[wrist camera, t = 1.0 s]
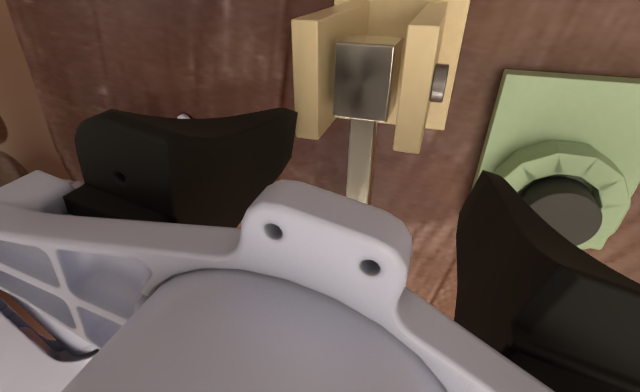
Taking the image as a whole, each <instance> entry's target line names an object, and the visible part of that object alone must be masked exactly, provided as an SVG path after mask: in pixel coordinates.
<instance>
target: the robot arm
mask: <svg viewBox="0 0 640 392" xmlns="http://www.w3.org/2000/svg"><path fill="white" fill-rule="evenodd" d="M297 116H298V112H296V111H292V110H289V109H286V108H275V109H269V110H264V111H259V112H254V113H249V114H243V115H237V116H231V117H223V118H211V119H190V118H189V117H188V116H187V115H186V114H181V115H179V116H178V117H177V119H176V118H164V117H155V116H147V115H141V114H135V113H130V112H124V111H119V110H114V109H110V110H108V111H105V112H103V113H100V114H98V115H95V116H93V117H91V118H88V119H86V120H84V121H83V122H81V123H80V124H79V126H78V128H77V129H76V135H75V145H76V151H77V155H78V159H79V163H80V166H81V170H82V174H83V178H84V182H85V184H83V183H82V182H81V181H75V182H74V181H72V180H66V179H65V180H62V179H60V178H57V177H55V176H52V175H50V174H47V173H45V172H42V171H39V170H36V171H34V172H32V173H29V174H27V175H25V176H23V177H21V178H19V179H17V180H15V181H13V182H11V183H9V184H6V185H4V186H2V187H0V289H1V290H3V291H5V292H7V293H8V294H9V295H10V296H11V297H12V298H13V299H14V300H15V301H16V302H17V303H19V305H20V306H22V307H23V308H24V309H25V310H26V311H27V312H28V313H29V314H30V315H31V316H32V317H33V318H34V319H35V320H36V321H37V322H38V323H40V325H41V326H42V327H44V328H45V329H46V330H47V331H48V332H49V333H50V334H51V335H52V336H53V337H54V338H55V339H56V341H54V340H49V339H47V338H45V337H43V336H41V335H40V334H39V333H38V332H37V331H35V330H34V329H33V328H32V327H31V326H30V325H29V324H28V323H27V322H26V321H25V320H24V319H22V317H21V316H20V315H18V314H17V313H16V312H15V311H14V310H13V309H12V308H11V307H10V306H9V305H8V304H7V303H6V302H5V301H4V300H3V299H1V298H0V392H640V284H639V283H637V282H635V281H633V280H631V279H629V278H627V277H626V276H624V275H622V274H620V273H618V272H617V271H615V270H613V269H611V268H610V267H608V266H606V265H605V264H603V263H601V262H600V261H598V260H596V259H595V258H593V257H592V256H590V255H589V254H587V253H586V252H584V251H583V250H581V249H580V248H578V247H577V246H575V245H574V244H573V243H571V242H570V241H569V240H567V239H566V238H565V237H564V236H562V235H561V234H560V233H559V232H557V231H556V230H555V229H554V228H552V227H551V226H550V225H549V224H548V223H547V222H546V221H545V220H544V219H543V218H541V217H540V216H539V215H538V214H537V213H536V212H535V211H534V210H533V209H532V208H531V207H530V206H529V205H528V204H527V203H526V201H525V200H524V199H523V198H522V197H521V196H520V195H519V194H518V193H517V192H516V191H515V189H514V188H513V187H512V186H511V185H510V184H509V183H508V182H507V181H506V180H505V179H504V178H503V177H502V176H500V175H498V174H494V173H491V172H488V171H485V170H482V172H481V174H480V176H479V178H478V179H477V181H476V183H475V185H474V187H473V189H472V191H471V193H470V194H469V196H468V198H467V200H466V202H465V204H464V206H463V208H462V209H461V211H460V213H459V219H458V225H457V233H456V248H457V281H458V282H457V299H456V308H455V317H454V320H452V319H451V318H449V317H448V316H446V315H445V314H444V313H442V312H441V311H439V310H438V309H436V308H435V307H434V306H432V305H431V304H429V303H428V302H427V301H425V300H424V299H422V298H421V297H419V296H418V295H417V294H415V293H414V292H412V291H411V290H409V289H408V288H407V287H406V281H407V275H408V269H409V263H410V257H411V249H412V236H411V234H410V233H409V231H408V229H407V228H406V226H405V224H404V223H403V221H401V220H400V219H398V218H396V217H395V216H393V215H391V214H390V213H388V212H387V211H385V210H382V209H380V208H377V207H374V206H371V205H368V204H365V203H362V202H359V201H356V200H353V199H351V198H348V197H345V196H342V195H339V194H336V193H333V192H330V191H327V190H324V189H322V188H319V187H316V186H313V185H310V184H307V183H304V182H301V181H293V180H284V179H281V180H279V181H277V182H275V183H273V182H274V181H275V180H276V179H277V178H278V177H279V175H280V174H281V173H282V171H283V170H284V168H285V167H286V165H287V163H288V162H289V160H290V158H291V155H292V149H293V142H294V136H295V129H296V122H297ZM272 183H273V184H272ZM242 219H243V220H242ZM241 220H242V222H241ZM240 222H241V228H237V226H238V225H239V223H240Z"/></svg>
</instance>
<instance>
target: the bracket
mask: <svg viewBox="0 0 640 392" xmlns="http://www.w3.org/2000/svg"><path fill="white" fill-rule="evenodd" d="M469 5H470V0H334V6H333V7H330V8H327V9H323V10H320V11H317V12H314V13H311V14H308V15H304V16H301V17H298V18H295V19H292V20H291V29H292V53H293V72H292V75H293V83H294V102H295V111H296V112H298V116H297V122H296V137H300V138H307V139H314V140H318V139H319V138H320V137H321V136H322V135H323V133H324V132H325V131H326V130H327V128H328V127H329V126H330V125H331V124H332V122H333V121H334V120H335V119H336V118H340V117H334V116H333V86H334V52H335V42H337V41H339V40H342V39H344V38H346V37H348V36H350V35H368V36H388V37H402V38H403V48H402V56H401V64H400V72H399V80H398V89H397V97H396V105H395V107H394V109H393V111H392V113H391V115H390V117H389V118H388V120H387V122H386V124H395V125H396V127H395V135H394V143H393V150H394V151H401V152H409V153H416V154H419V152H420V148H421V144H422V139H423V135H424V130H425V128H429V129H437V130H444V128H445V123H446V118H447V113H448V109H449V104H450V99H451V94H452V89H453V84H454V79H455V74H456V69H457V64H458V59H459V54H460V49H461V44H462V39H463V34H464V29H465V24H466V19H467V15H468V10H469ZM344 119H349V118H344ZM379 123H383V122H379Z"/></svg>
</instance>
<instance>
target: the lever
mask: <svg viewBox="0 0 640 392" xmlns="http://www.w3.org/2000/svg"><path fill="white" fill-rule="evenodd" d="M402 48H403V38H402V37H388V36H368V35H350V36H348V37H346V38H344V39H342V40H339V41H337V42H335V52H334V86H333V116H334V117H340V118H349V119H350V125H349V143H348V161H347V180H346V197H348V198H351V199H353V200H356V201H359V202H362V203H365V204H368V205H371V195H372V185H373V175H374V165H375V155H376V145H377V135H378V125H379V122H383V123H386V122H387V120H388V118H389V117H390V115H391V113H392V111H393V109H394V107H395V105H396V97H397V89H398V80H399V72H400V64H401V56H402Z"/></svg>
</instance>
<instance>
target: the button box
mask: <svg viewBox="0 0 640 392" xmlns="http://www.w3.org/2000/svg"><path fill="white" fill-rule="evenodd" d="M482 170H485V171H488V172H491V173H494V174H498V175H500V176H502V177H503V178H504V179H505V180H506V181H507V182H508V183H509V184H510V185H511V186H512V187H513V188H514V189H515V191H516V192H517V193H518V194H519V195H520V196H521V194H522V193H523V192H524V190H525V189H526V188H528V187H529V186H530V185H532V184H533V183H535V182H537V181H540V180H542V179H546V178H551V177H566V178H571V179H574V180H577V181H579V182H581V183H582V184H584V185H585V186H586V187H587V188H588V189H589V190H590V192H591V193H592V195H593V197H594V199H595V200H596V202H597V204H598V206H599V207H600V209H601V212H602V224H601V227H600V229H599V230H598V232H597V233H596V234H595V235H594V236H593V237H592V238H591V239H589V240H588V241H586V242H585V243H583V244H580V245H578V246H577V247H578V248H580V249H581V250H584V249H588V248H593V249H598V250H601V249H602V247H603V245H604V244H605V242H606V240H607V238H608V237H609V236H610V235H611V234H613V233H615V231H616V230H617V229H618V227H619V225H620V223H621V222H622V220H623V218H624V217H625V215H626V213H627V211H628V210H629V208H630V205H631V201H630V198H631V196H632V195H633V193H634V191H635V189H636V188H637V186H638V184H639V182H640V78H627V77H613V76H599V75H584V74H570V73H556V72H542V71H527V70H513V69H504V72H503V76H502V79H501V83H500V87H499V90H498V94H497V98H496V101H495V105H494V109H493V112H492V116H491V119H490V123H489V127H488V130H487V134H486V138H485V141H484V145H483V149H482V152H481V156H480V160H479V163H478V167H477V171H476V174H475V178H474V182H473V185H472V189H473V187H474V185H475V183H476V181H477V179H478V178H479V176H480V174H481V172H482ZM472 189H471V191H472Z"/></svg>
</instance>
